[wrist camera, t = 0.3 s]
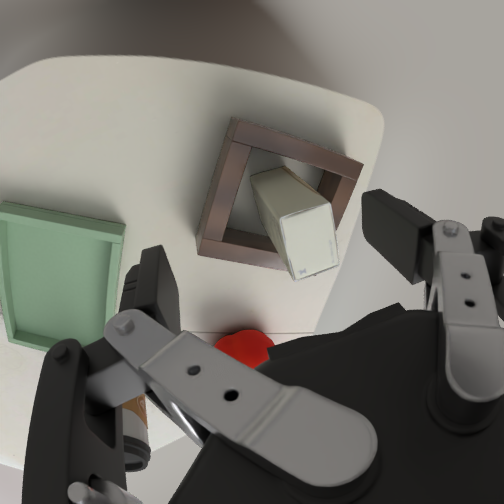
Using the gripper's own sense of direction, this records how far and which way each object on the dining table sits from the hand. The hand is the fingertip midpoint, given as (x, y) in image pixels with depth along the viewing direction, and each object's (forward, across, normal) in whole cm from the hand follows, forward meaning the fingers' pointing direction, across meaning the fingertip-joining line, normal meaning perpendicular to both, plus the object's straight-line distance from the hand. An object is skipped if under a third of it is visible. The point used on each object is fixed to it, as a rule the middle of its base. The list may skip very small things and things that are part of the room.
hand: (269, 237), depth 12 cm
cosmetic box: (+23, -5, +7) cm, 24 cm away
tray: (+22, +23, +11) cm, 34 cm away
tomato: (+23, +3, +28) cm, 36 cm away
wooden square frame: (+22, -5, +7) cm, 24 cm away
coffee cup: (+23, +22, +30) cm, 44 cm away
